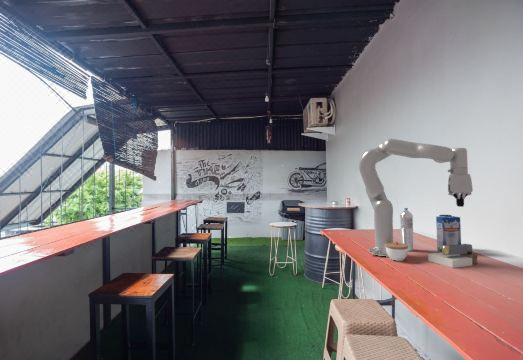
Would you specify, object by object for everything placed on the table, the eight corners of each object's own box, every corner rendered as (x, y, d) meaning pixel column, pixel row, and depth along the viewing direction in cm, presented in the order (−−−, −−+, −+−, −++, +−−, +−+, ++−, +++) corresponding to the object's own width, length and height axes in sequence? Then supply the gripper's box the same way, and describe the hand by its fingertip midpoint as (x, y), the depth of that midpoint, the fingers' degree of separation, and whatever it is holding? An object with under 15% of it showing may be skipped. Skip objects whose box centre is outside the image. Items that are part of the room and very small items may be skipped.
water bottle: (411, 248, 176) (409, 207, 177) (415, 251, 169) (414, 208, 170) (399, 248, 177) (397, 207, 177) (403, 251, 170) (402, 208, 170)
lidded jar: (386, 261, 148) (386, 243, 149) (385, 256, 159) (384, 239, 159) (410, 263, 145) (409, 244, 145) (406, 257, 155) (406, 240, 155)
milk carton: (443, 253, 163) (442, 217, 164) (437, 250, 169) (436, 216, 170) (461, 252, 163) (460, 217, 163) (454, 250, 169) (453, 216, 169)
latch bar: (467, 251, 145) (467, 243, 145) (474, 253, 141) (474, 244, 141) (440, 253, 143) (439, 245, 143) (446, 255, 139) (446, 246, 139)
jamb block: (471, 264, 139) (470, 255, 140) (459, 261, 145) (459, 252, 145) (477, 264, 141) (477, 254, 141) (465, 261, 146) (465, 251, 146)
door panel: (452, 267, 135) (452, 259, 135) (428, 260, 149) (427, 253, 149) (472, 265, 138) (472, 257, 138) (446, 258, 152) (446, 251, 152)
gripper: (447, 171, 150) (448, 207, 150) (478, 170, 148) (480, 206, 148) (440, 172, 157) (441, 206, 157) (470, 171, 156) (471, 205, 155)
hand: (460, 206), depth 152 cm, fingers closed
